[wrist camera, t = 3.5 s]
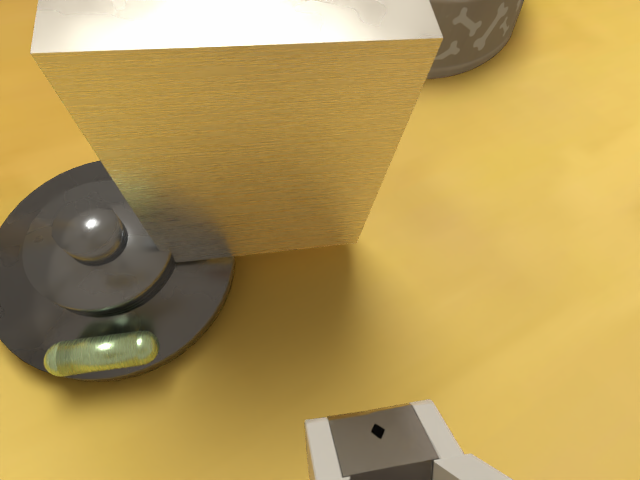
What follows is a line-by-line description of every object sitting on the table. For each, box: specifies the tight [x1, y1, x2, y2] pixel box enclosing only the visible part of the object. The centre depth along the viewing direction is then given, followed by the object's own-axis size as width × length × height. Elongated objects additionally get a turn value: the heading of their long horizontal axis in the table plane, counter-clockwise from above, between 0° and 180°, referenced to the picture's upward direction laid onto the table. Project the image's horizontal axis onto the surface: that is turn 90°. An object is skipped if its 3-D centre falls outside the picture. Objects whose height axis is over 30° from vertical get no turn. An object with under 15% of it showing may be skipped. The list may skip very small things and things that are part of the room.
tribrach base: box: [0, 161, 235, 382], centre depth 20 cm, size 11×11×2 cm
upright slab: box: [22, 0, 443, 318], centre depth 15 cm, size 14×6×12 cm, turn 99°
